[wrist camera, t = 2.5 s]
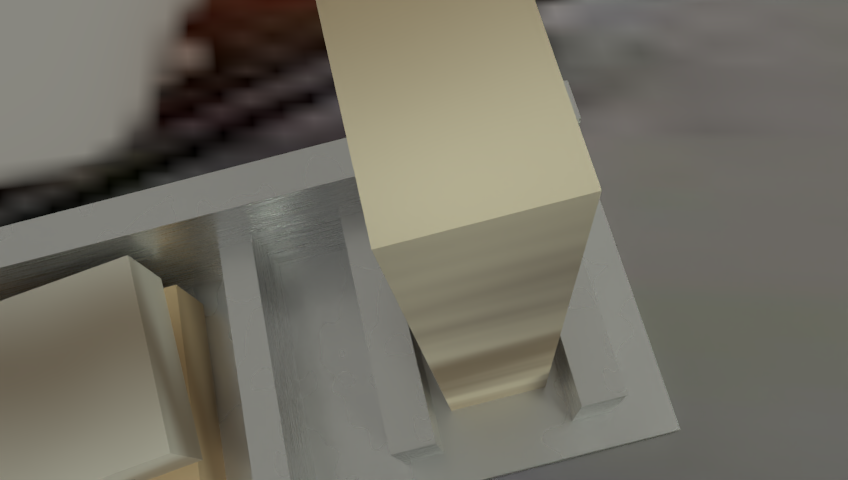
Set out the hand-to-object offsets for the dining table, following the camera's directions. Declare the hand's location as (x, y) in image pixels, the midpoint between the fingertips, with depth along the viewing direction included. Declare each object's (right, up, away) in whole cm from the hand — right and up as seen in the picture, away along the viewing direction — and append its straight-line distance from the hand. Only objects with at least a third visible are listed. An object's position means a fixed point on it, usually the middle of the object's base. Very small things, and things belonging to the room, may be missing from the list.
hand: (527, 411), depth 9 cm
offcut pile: (-9, -3, +11) cm, 15 cm away
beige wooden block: (0, 0, +11) cm, 11 cm away
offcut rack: (-5, -1, +12) cm, 13 cm away
